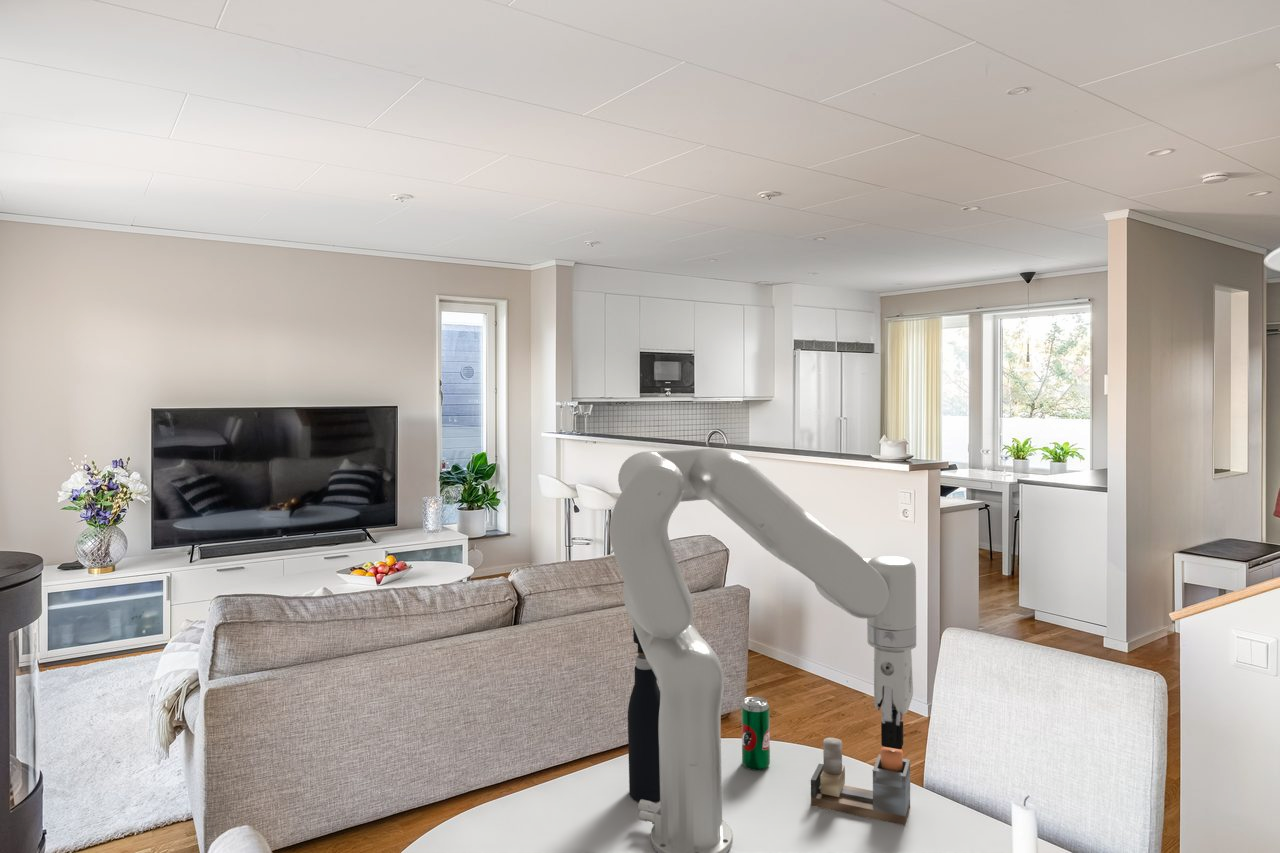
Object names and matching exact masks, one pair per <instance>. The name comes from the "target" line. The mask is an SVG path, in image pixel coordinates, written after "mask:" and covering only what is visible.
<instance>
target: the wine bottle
mask: <svg viewBox="0 0 1280 853" xmlns="http://www.w3.org/2000/svg"><path fill="white" fill-rule="evenodd" d="M632 632H633V641H632V642H633V643H634V644H636V645H637V651H636V652H637V655H636V656H635V657H636V658H635V665H634V670H633V671H634V684H633V688H632V691H631V693H630V697H629V703H628V707H627V736H628V737H627V744H628V787H629V789H628V790H629V796H630V798H631V799H632V800H634V801H636V802H638V803H639V802H640V800H641V799H643V800H647V801H651V802H654V803H658V802H660V772H659V735H658V721H659V708H660V686H659V683H658V680H657V678H656V676H655V674H654V672H653V671H652V669H651V667H650V665H649V663H648V661H647V659H646V656H645V654H644V652H643V649H642V647H641V644H640V642H639V639H638V637H637V634H636V632H635V629H634V627H632Z"/></svg>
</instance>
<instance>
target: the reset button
mask: <svg viewBox="0 0 1280 853" xmlns="http://www.w3.org/2000/svg"><path fill="white" fill-rule="evenodd" d="M880 755H881V767H882V768H883V769H885V770H889V771H900V770H902V769H903V759H904V751H903V750H902V749H894V748H888V747H883V746H882V747H881V748H880Z"/></svg>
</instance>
